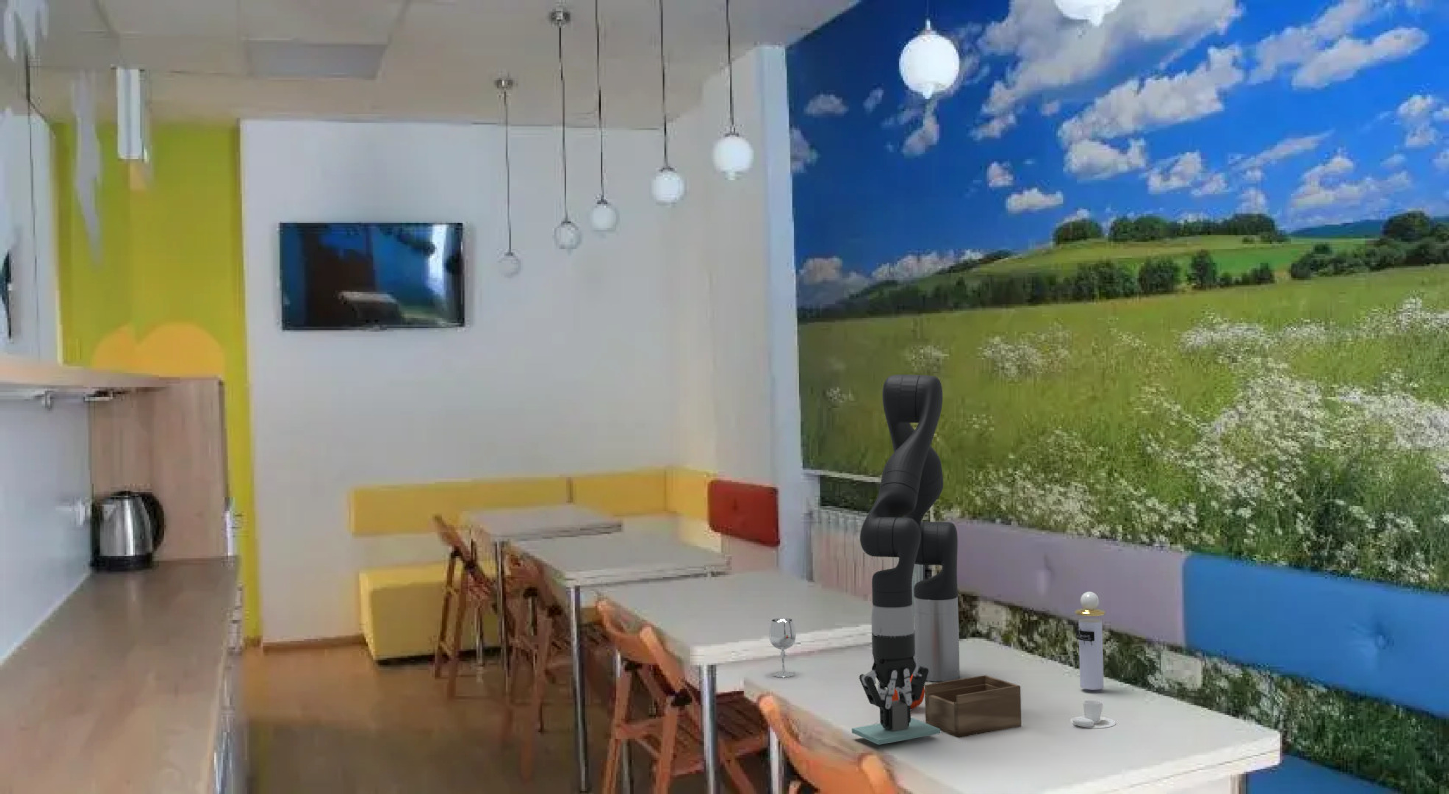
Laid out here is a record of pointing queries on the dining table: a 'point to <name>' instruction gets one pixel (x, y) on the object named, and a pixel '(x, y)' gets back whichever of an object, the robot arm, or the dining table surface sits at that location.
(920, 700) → the clementine
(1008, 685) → the box
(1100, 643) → the perfume bottle
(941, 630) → the robot arm
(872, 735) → the cover plate
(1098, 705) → the teacup and saucer
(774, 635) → the wineglass
